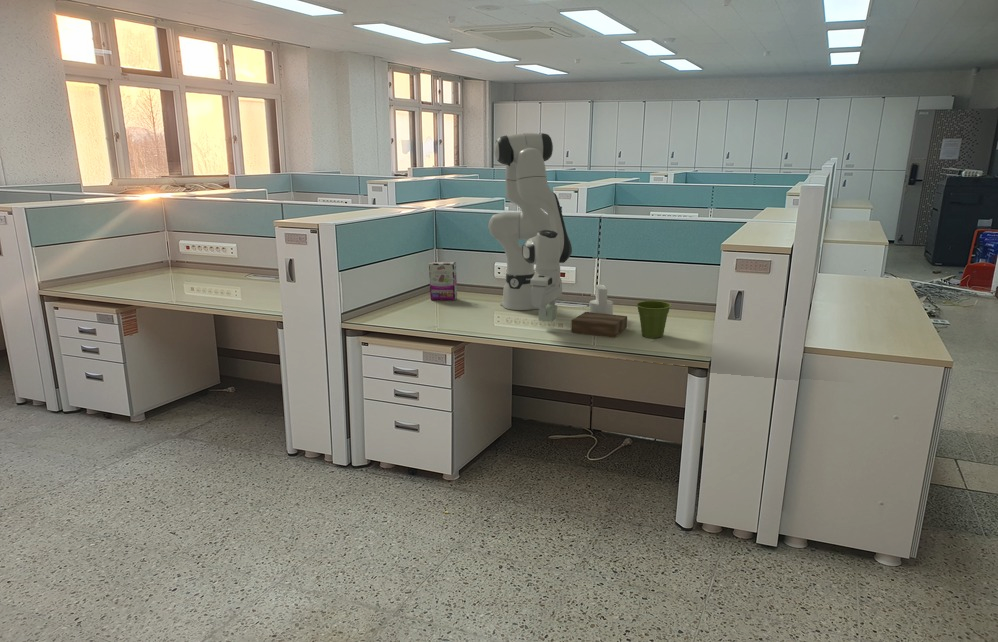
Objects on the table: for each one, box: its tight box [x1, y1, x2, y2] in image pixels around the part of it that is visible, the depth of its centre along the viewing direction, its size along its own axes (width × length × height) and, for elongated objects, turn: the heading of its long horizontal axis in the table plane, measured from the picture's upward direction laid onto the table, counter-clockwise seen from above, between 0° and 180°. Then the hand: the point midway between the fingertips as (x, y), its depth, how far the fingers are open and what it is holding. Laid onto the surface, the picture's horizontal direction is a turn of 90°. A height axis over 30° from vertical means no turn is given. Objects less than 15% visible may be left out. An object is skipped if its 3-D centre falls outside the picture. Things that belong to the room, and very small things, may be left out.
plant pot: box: [635, 300, 672, 339], centre depth 232 cm, size 12×12×11 cm
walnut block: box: [570, 311, 628, 339], centre depth 241 cm, size 14×16×5 cm
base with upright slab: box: [588, 284, 614, 315], centre depth 259 cm, size 9×9×12 cm
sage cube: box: [538, 304, 558, 323], centre depth 243 cm, size 5×5×5 cm
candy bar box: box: [428, 261, 458, 301], centre depth 293 cm, size 11×5×16 cm, turn 81°
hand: (547, 313), depth 243 cm, fingers closed on sage cube, 5 cm apart
